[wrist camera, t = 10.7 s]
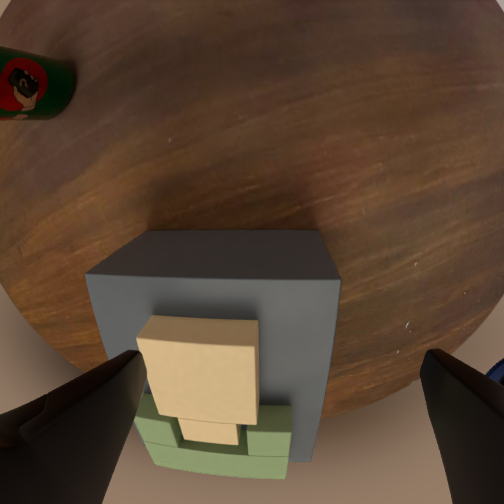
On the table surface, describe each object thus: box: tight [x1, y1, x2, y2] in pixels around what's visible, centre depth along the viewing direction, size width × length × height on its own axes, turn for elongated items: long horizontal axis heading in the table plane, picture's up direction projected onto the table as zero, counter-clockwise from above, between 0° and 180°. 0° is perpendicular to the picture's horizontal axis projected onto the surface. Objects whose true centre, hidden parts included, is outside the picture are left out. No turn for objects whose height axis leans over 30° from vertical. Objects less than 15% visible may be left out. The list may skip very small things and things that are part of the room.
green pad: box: [134, 393, 292, 479], centre depth 15 cm, size 8×6×2 cm, turn 91°
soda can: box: [0, 46, 73, 121], centre depth 12 cm, size 5×5×12 cm
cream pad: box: [136, 315, 260, 445], centre depth 13 cm, size 5×7×2 cm
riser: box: [85, 230, 341, 462], centre depth 19 cm, size 12×14×8 cm
